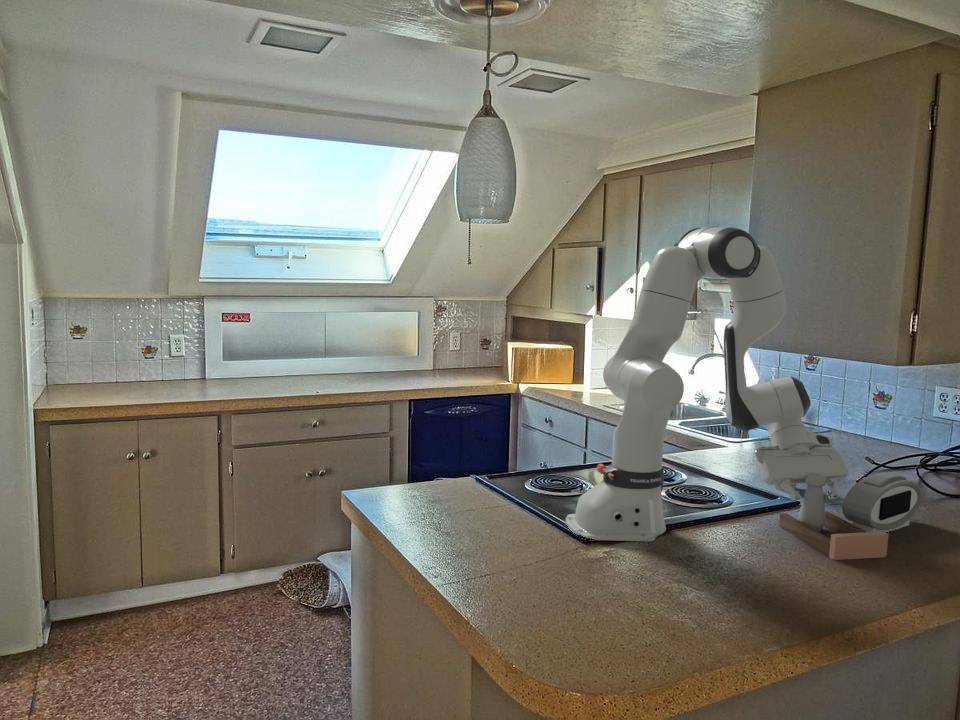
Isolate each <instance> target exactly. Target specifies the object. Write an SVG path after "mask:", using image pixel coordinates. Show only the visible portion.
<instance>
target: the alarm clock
mask: <svg viewBox="0 0 960 720" xmlns="http://www.w3.org/2000/svg"><path fill="white" fill-rule="evenodd" d="M922 500H923V490H922V488H921V486H920V485H918V484H917V482H915V481H911V480H907V478H906V476H902V475H897V474H895V473H890V472H879V473H878V472H877V473H874V474H872V475H869V476H867V477H865V478H862V479H861V480H860V481H858V482H856V483H855V484H854V485H853V486H852V487H851V488H850V489H849V490H848V492H847V493H846V494H845V496H844V498H843V501H842V505H841V507H842V508H841V509H842V511H841V512H842V514H843V516H844V518H846V519H847V520H848V521H850V522H851V524H852V525H854V526H856V527H858V528H860V529H862V530H864V531H866V532H882V531H884V532H888V533H890V532H889V531H891V532H893V531H896V530H900V529H902V528H904V527H907V526H909V525H910V520H911V519H912V518H913V517H914V516H915V514H916V513H917V512H918V511H919V508H920V506H921V504H922V502H923V501H922ZM895 529H896V530H895ZM892 530H893V531H892Z"/></svg>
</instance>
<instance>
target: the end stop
mask: <svg viewBox="0 0 960 720" xmlns="http://www.w3.org/2000/svg"><path fill="white" fill-rule="evenodd" d="M830 539H831V541H830V552H829V557H828V558H829V559H831V560H832V561H844V560H846V561H847V560H858V559H859V560H860V559H861V560H862V559H875V558H887V553H888V544H889V532H888V533H886V532H884V531H882V532H863V533H844V534H837V533H832V534H830Z"/></svg>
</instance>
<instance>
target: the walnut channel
mask: <svg viewBox="0 0 960 720" xmlns="http://www.w3.org/2000/svg"><path fill="white" fill-rule="evenodd" d="M825 516H826V524H825V525H824V527H825V528H826V529H828V530H830V531H832V532H834V534H844V533H863V532H866V531H864V530H862V529H860V528H858V527H856V526H854V525H852V522H851V523H850V522H848V521H847V520H845V519H843V518H841V517H839V516H837V515H836V514H834V513H832V512H829V511H826V510H825ZM778 525H779V527H780V528H782V529H783V530H784V531H786V532H788V533H789V534H791V535H793V536H794V537H796V538H798V539H799V540H801V541H802V542H804V543H805V544H807V545H808V546H810V547H811V548H813V549H815V550H817V551H818V552H820V553H822V554H823V555H825V556H826V557H828V558H829V552H830V541H831V538H829V536H826V535H825V534H822V533H821V532H818V531H816V530H814V529H812V528H811V527H809V526H807V525H806V524H804V523H802V522H800V521H799V520H798V518H795V517H794V516H792V515H791V514H788V513H787V512H786V513H785V512H784V513H783V512H782V513H780V514H779V523H778Z"/></svg>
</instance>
